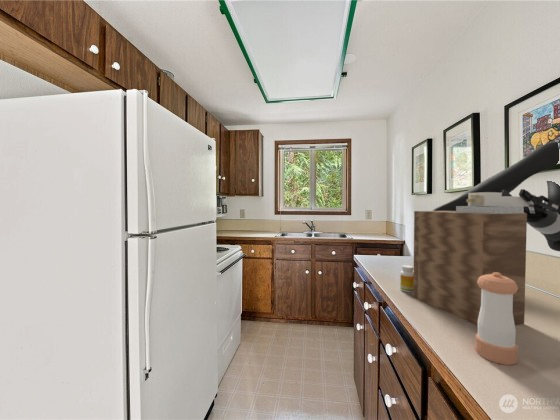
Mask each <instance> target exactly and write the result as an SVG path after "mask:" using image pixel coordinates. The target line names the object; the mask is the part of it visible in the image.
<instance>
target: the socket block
mask: <svg viewBox="0 0 560 420" xmlns="http://www.w3.org/2000/svg"><path fill="white" fill-rule="evenodd" d="M456 213H480V214H519V213H524V206H456Z"/></svg>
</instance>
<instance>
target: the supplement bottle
mask: <svg viewBox="0 0 560 420" xmlns="http://www.w3.org/2000/svg"><path fill="white" fill-rule="evenodd" d="M401 269H402V270H401V271H400V273H399V275H400V277H399V290H400V291H402V292H404V293H410V294H411V293H413V285H414V265H413V266H412V265H408V264H407V265H406V264H405V265H404V264H403V265H401Z"/></svg>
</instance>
